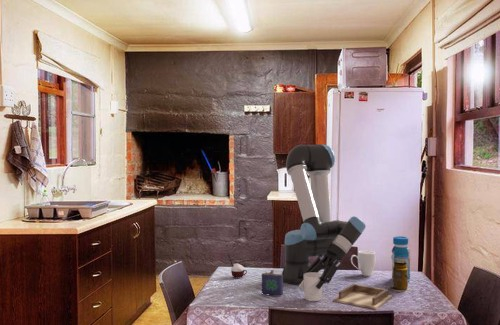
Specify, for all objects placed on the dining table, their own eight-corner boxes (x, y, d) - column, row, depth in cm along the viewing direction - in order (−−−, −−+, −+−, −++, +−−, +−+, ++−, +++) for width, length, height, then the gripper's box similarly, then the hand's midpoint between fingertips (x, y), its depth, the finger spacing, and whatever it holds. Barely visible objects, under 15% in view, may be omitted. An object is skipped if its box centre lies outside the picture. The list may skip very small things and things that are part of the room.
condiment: (412, 289, 200) (411, 261, 200) (399, 292, 195) (399, 264, 195) (398, 285, 206) (398, 258, 206) (385, 288, 201) (385, 261, 201)
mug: (372, 272, 229) (372, 249, 228) (377, 276, 220) (377, 253, 220) (348, 273, 228) (348, 250, 228) (353, 277, 220) (353, 253, 220)
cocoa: (247, 276, 225) (248, 252, 225) (245, 279, 219) (246, 254, 219) (228, 275, 227) (229, 251, 227) (225, 278, 220) (226, 253, 221)
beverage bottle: (400, 282, 209) (399, 239, 209) (387, 278, 217) (387, 236, 217) (414, 280, 213) (414, 238, 213) (401, 276, 221) (401, 235, 220)
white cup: (302, 296, 191) (301, 272, 191) (320, 295, 192) (320, 272, 192) (305, 302, 183) (305, 277, 183) (325, 301, 184) (324, 276, 184)
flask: (283, 294, 194) (283, 269, 194) (282, 296, 191) (281, 271, 191) (262, 293, 196) (262, 268, 196) (260, 295, 194) (260, 270, 193)
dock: (333, 301, 184) (333, 292, 184) (351, 290, 199) (351, 282, 199) (376, 309, 174) (376, 300, 174) (392, 297, 188) (392, 289, 188)
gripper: (358, 258, 184) (325, 304, 178) (330, 249, 203) (299, 290, 197) (347, 246, 182) (313, 292, 176) (320, 238, 201) (288, 279, 195)
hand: (306, 291), depth 186 cm, fingers closed on white cup, 8 cm apart
